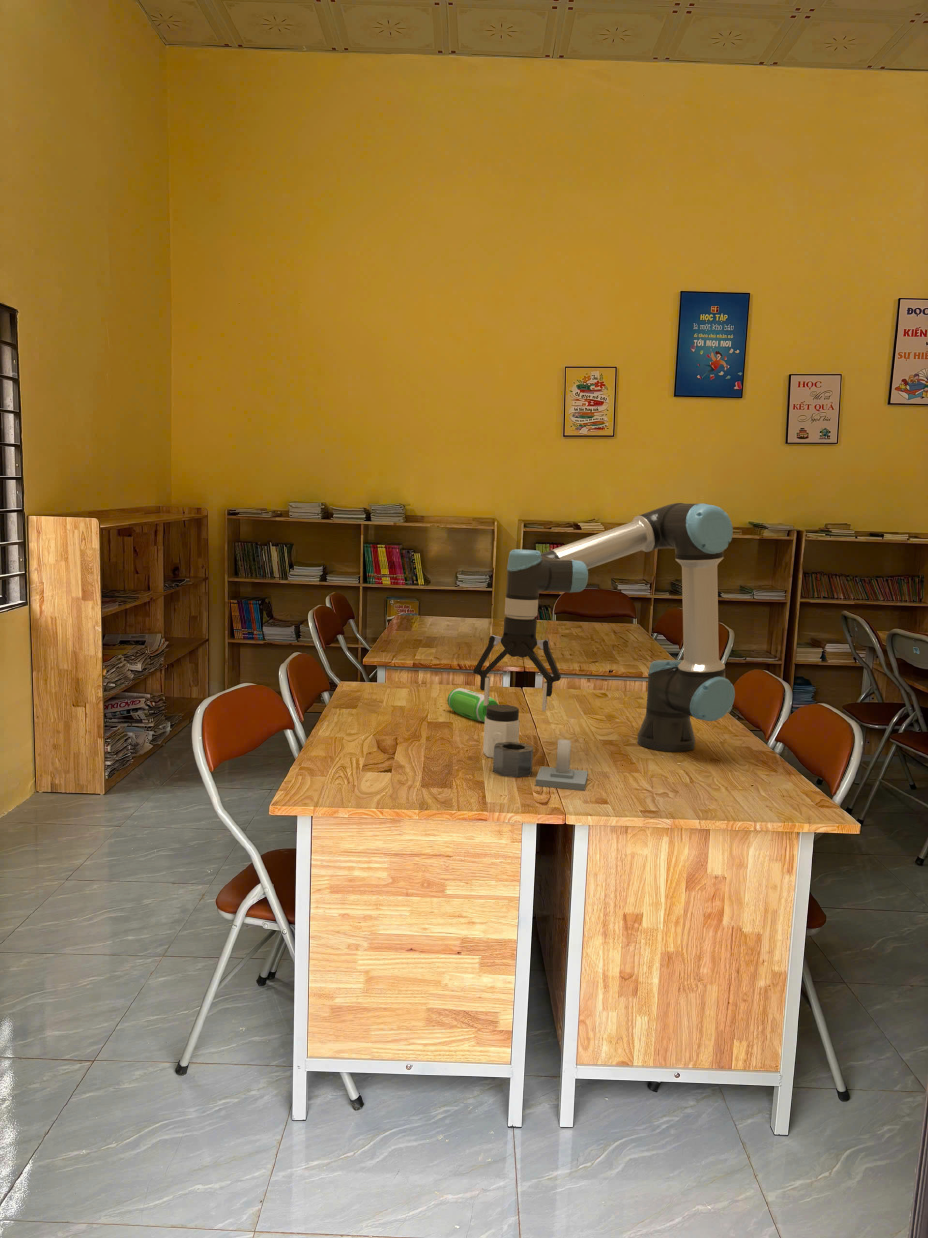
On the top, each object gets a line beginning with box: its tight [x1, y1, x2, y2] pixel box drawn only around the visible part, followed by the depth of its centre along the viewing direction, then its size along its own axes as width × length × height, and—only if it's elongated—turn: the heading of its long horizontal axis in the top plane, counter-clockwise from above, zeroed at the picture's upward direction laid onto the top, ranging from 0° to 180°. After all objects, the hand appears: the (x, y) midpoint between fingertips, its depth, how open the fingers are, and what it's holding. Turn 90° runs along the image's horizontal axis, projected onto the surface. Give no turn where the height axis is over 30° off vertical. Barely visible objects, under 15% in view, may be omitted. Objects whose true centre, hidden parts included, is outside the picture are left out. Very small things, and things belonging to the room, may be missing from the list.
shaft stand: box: [534, 738, 589, 791], centre depth 224 cm, size 11×11×10 cm
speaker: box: [446, 687, 499, 723], centre depth 285 cm, size 18×7×8 cm, turn 35°
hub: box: [492, 742, 534, 778], centre depth 230 cm, size 9×9×6 cm
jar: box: [482, 704, 521, 759], centre depth 245 cm, size 9×8×12 cm
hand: (514, 707), depth 229 cm, fingers open, 13 cm apart
